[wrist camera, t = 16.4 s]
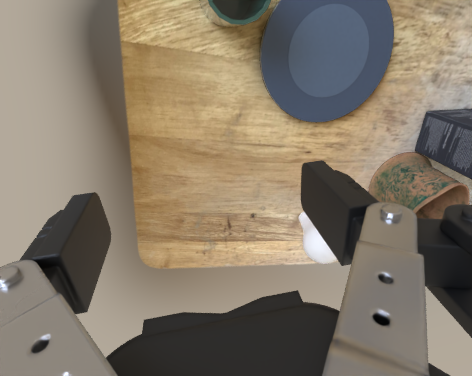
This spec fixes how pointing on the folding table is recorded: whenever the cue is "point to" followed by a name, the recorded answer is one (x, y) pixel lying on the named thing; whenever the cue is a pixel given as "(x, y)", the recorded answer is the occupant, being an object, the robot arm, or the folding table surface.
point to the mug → (417, 186)
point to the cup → (234, 11)
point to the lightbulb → (315, 242)
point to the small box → (448, 139)
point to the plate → (325, 55)
